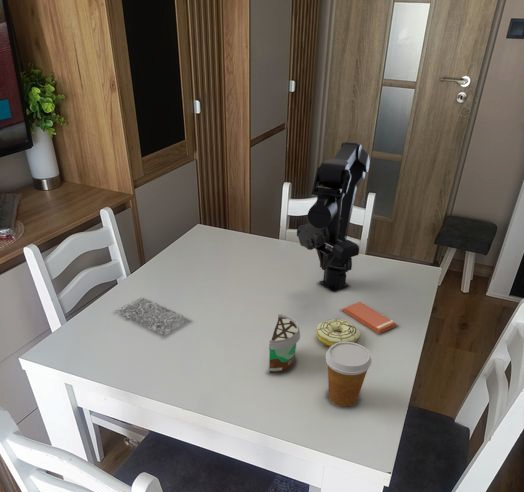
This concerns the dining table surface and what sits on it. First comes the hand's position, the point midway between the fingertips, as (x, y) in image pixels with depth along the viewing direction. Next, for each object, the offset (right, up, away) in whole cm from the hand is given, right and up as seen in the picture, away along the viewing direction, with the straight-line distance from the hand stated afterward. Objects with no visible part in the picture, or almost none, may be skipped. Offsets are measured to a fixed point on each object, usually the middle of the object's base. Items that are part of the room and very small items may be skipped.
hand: (324, 269), depth 131 cm
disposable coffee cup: (+1, -32, -25) cm, 40 cm away
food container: (-11, -25, -15) cm, 31 cm away
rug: (-47, -13, +2) cm, 49 cm away
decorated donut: (+3, -19, -6) cm, 20 cm away
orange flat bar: (+13, -13, +2) cm, 18 cm away
